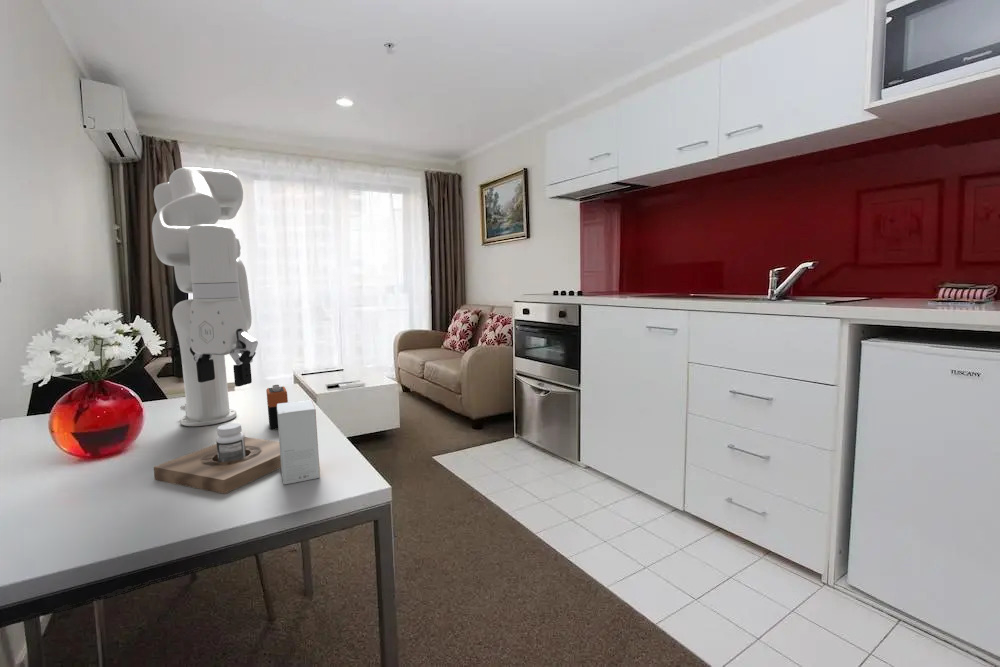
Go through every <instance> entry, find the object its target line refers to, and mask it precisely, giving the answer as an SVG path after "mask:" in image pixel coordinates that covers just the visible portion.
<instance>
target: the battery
mask: <svg viewBox="0 0 1000 667" xmlns="http://www.w3.org/2000/svg"><path fill="white" fill-rule="evenodd" d="M266 400H267V403H266V404H267V414H268V423H269V424H268V425H269V429H270V430H271V429H274V430H278V429H277V428H278V416H277V404H279V403H288V402H289V399H288V391H287V389H286V387H285V386H280V384H273V385H272V387H268V388H267V389H266Z"/></svg>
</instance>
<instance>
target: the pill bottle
mask: <svg viewBox="0 0 1000 667" xmlns="http://www.w3.org/2000/svg"><path fill="white" fill-rule="evenodd" d="M244 437H245V435H244V434H243V433H242V424H241V423H238V422H234V423H226V424H222V425H219V426H218V427H217V438H216V443H215V444H217V454H218V462H227V461H233V460H238V459H241V458H244V457H246V453H245V442H244Z"/></svg>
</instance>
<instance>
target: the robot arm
mask: <svg viewBox="0 0 1000 667" xmlns="http://www.w3.org/2000/svg"><path fill="white" fill-rule="evenodd" d="M243 188H244V187H243V185H242V182H241V180H240V178H239V176H237V175H236V174H235V173H234V172H233V171H229V170H226V169H225V170H224V169H214V168H205V167H203V168H202V167H194V166H192V167H191V166H187V167H186V166H185V167H180V168H177V169H175V170H174V171H172V173H171V174H170V176H169V178H168V182H162V183H159V184H157V185H156V186H155V187H154V190H153V199H154V200H153V201H154V205H155V208H156V213H155V214H154V216H153V220H152V224H151V233H152V241H153V242H152V243H153V247H154V248H153V249H154V252H155V255H156V257H157V259H158V260H159V261H160V262H161V263H162V264H164V265H166V266H170V267H171V266H172V267H173V268H174V277H175V282H176V285H177V288H178V289H179V290H180V291H181V292H183V293H187V294H192V297H193V298H189V299H185V300H182V301H179V302H178V303H176V304H175V305H174V307H173V308H172V319H173V324H174V328H175V331H176V334H177V339H178V344H179V345H178V346H179V351H180V359H181V365H182V367H181V368H182V377H183V385H184V386H183V387H184V395H185V403H184V405H183V404H182V405H180V409H179V410H181V411H183V412H185V416H182V417H181V418H180V424H181V425H182V426H185V427H203V426H204V427H205V426H212V425H217V424H221V423H225V422H228V421H231V420H232V419H235V418H236V417H237V416H238V414H237V411H236V410H235V409H231V408H230V402H229V392H228V380H227V379H228V378H227V369H226V368H227V367H226V358H225V356H227V355H230V357H231V358H232V360H233V361H234V363H235V364H233V377H234V386H235V387H242V386H246V385H250V384H252V383H253V382H252V381H253V380H252V379H253V378H252V369H251V363H253V361H254V359H253V358H254V357H255V356H256V354H257V352H256V351H257V348H258V345H259V343H258V340H257V339H256V338H254V337H252V336H251V335H249V334H248V331H249V329H250V328H251V326H252V320H253V318H252V307H251V299H250V292H249V291H250V290H249V284H248V276H247V275H248V274H247V270H246V267H245V264H244V263H243V261H242V260H241V259H240V256H241V248H242V247H241V242H240V239H239V237H238V236H236V233H235V232H234V231H233V229H232V228H231V227H230V226H228V225H221V224H217V222H218V221H220V220H222V221H225V220H227V221H228V220H232V219H235V217H236V216H237V214H238V213H239V210H240V209H241V208H242V205H243V201H244V189H243Z"/></svg>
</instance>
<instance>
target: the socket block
mask: <svg viewBox="0 0 1000 667" xmlns="http://www.w3.org/2000/svg"><path fill="white" fill-rule="evenodd" d="M244 442H245V453H246V457H244V458H241V459H238V460H233V461H227V462H218V454H217V444H216V443H215V444H212V445H210V446H207V447H204V448H201V449H199V450H196V451H194V452H190V453H188V454H185V455H182V456H179V457H177V458H173V459H171V460H168V461H165V462H163V463H160V464H158V465H155V466H153V474H154V477H153V478H154V480H155V481H159V482H163V483H169V484H173V485H179V486H183V487H188V488H194V489H198V490H203V491H209V492H212V493H218V494H223V495H227V494H228V493H230V492H233V491H235V490H237V489H238V488H242V487H243V486H245V485H247V484H249V483H252V482H254V481H256V480H258V479H260V478H263V477H264V476H266V475H268V474H270V473H272V472H275V471H276V470H279V469H281V458H280V445H279V441H277V440H270V439H269V440H268V439H261V438H254V437H249V436H248V437H246V436H244Z"/></svg>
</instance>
